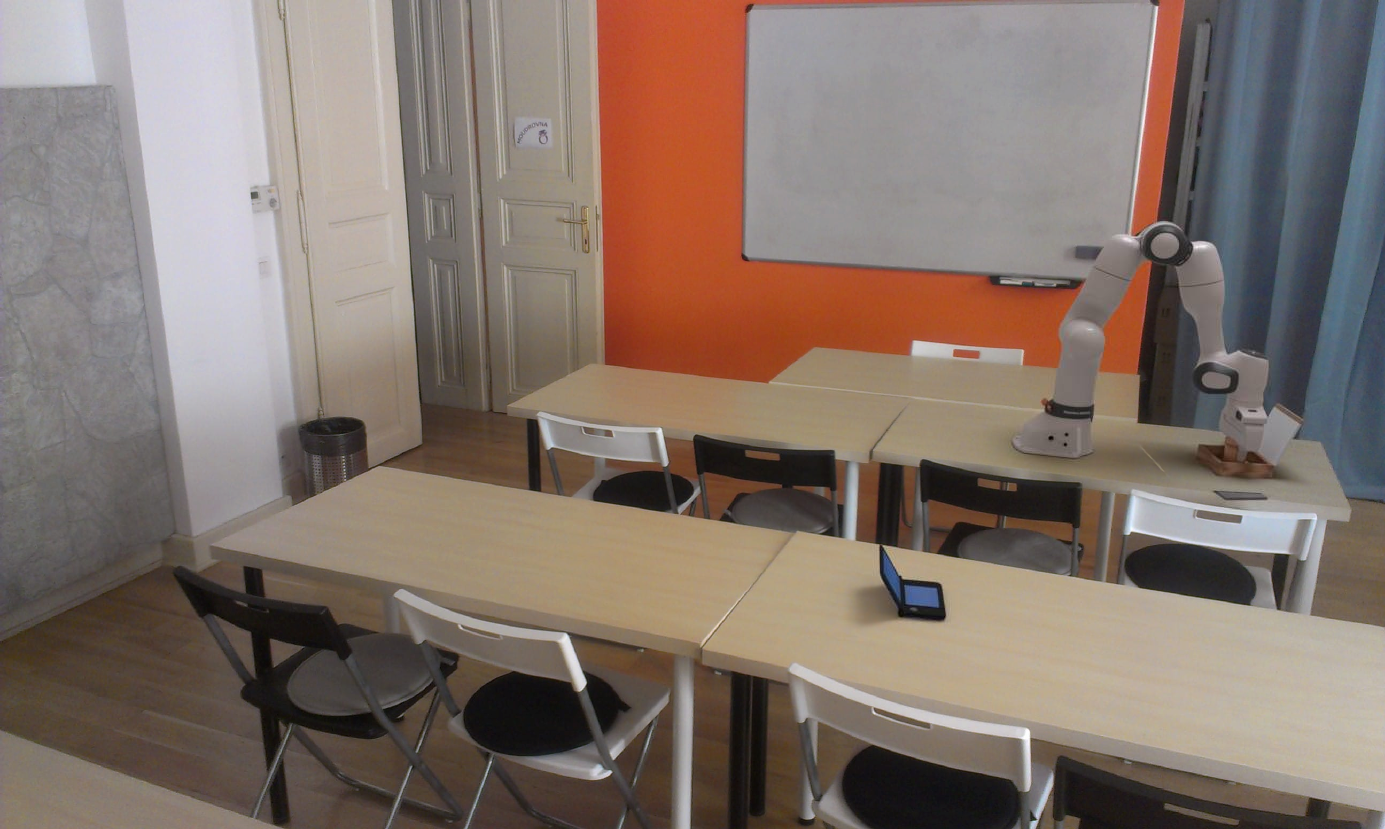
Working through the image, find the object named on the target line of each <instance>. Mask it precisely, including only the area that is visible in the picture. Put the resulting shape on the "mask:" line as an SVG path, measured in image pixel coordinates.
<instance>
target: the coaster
mask: <svg viewBox="0 0 1385 829" xmlns="http://www.w3.org/2000/svg"><path fill="white" fill-rule="evenodd" d="M1213 493H1214V494H1217V495H1218V496H1220V497H1221V498H1223V500H1225V501H1234V500H1235V501H1237V500H1238V501H1240V500H1241V501H1245V500H1246V501H1248V500H1249V501H1250V500H1251V501H1254V500H1261V501H1262V500H1266V501H1267V500H1268V499H1269V498H1268V496H1266V495H1265V494H1263V493H1261V492H1247V491H1246V492H1245V491H1227V490H1226V491H1223V490H1213Z"/></svg>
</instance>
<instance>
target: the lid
mask: <svg viewBox="0 0 1385 829" xmlns="http://www.w3.org/2000/svg"><path fill="white" fill-rule="evenodd" d="M1267 417H1268V420H1267V424H1263V425H1264V433H1263V438H1262V442H1261V446H1260V448H1259V450H1258V451H1257V452H1258V453H1259V454H1260V455H1261V456H1263V457H1264V458H1265V459H1266V460H1268V461H1269V462H1270V463H1271V464H1273V465H1274V467H1277V466H1278V464H1279V462H1280V460H1282V457H1283V455H1284V454H1285V452H1286V451H1287V449H1288V447H1289V446H1290V445H1291V443H1292V441H1293V439H1294V437H1295V436H1296V434H1297V433H1298V431H1299V429H1300V428H1301V426H1304V425H1305V423H1306V420H1304V419H1303V418H1302V417H1300V416H1298V415H1297V414H1296V413H1294V412H1292V411H1291V410H1289V409H1288V408H1286V407H1284V406H1283V405H1282V404H1281V403H1279V402H1278V403H1277V402H1276V403H1275V405H1274V407H1273V408H1272V409H1271V411H1270V413H1269V415H1267Z"/></svg>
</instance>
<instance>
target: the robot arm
mask: <svg viewBox="0 0 1385 829" xmlns="http://www.w3.org/2000/svg"><path fill="white" fill-rule="evenodd" d="M1147 261H1150V262H1152V263H1154V264H1156V265H1160V266H1171V267H1175V270H1176V273H1177V280H1178V289H1179V296H1180V299H1181V303H1182V305H1183V308H1184V310H1185V312H1187V313H1188V314H1189V315H1190V316H1191V317H1192V318H1193V319H1194V322H1195V324H1196V329H1197V336H1198V343H1199V348H1200V350H1199V351H1200V352H1199V356H1198V359H1197V362H1196V364H1195V367H1194V370H1193V372H1192V380H1191V381H1192V384H1193V386H1194V387H1195V388H1196V389H1197V391H1199V392H1201V393H1203V394H1206V395H1226V401H1225V406H1224V407H1223V408H1222V410H1221V414H1220V418H1219V421H1218V429H1219V431H1220V432H1221V433H1222V434H1223V435H1225V437H1227V436H1228V437H1229V438H1230V439H1231V440H1232V441H1234V442H1235V443H1236V444H1237V445H1238V446H1239V452H1238V454H1236V460H1237V461H1240V462H1243V461H1244V459H1245V455H1246V454H1247V452H1248V451H1251V452H1257V451H1258V450H1259V448H1260V446H1261V442H1262V438H1263V433H1264V425H1263V424H1267V420H1268V415H1267V412H1266V413H1265V411H1266V410H1265V408H1264V406H1263V405H1264V391H1265V390H1266V387H1267V385H1268V384H1267V383H1268V377H1269V367H1270V366H1269V363H1270V362H1269V358H1267V356H1266V355H1265V354H1263V353H1261V352H1259V351H1257V350H1254V349H1249V348H1240V349H1238V350H1236V351H1235V352H1231V353H1229V351H1228V349H1227V347H1226V344H1225V336H1224V329H1223V327H1224V326H1223V317H1222V316H1223V311H1224V309H1223V308H1224V305H1225V294H1226V292H1225V291H1226V288H1225V287H1226V286H1225V276H1224V271H1223V270H1224V269H1223V265H1222V262H1221V258H1220V255H1219V252H1218V249H1217V247H1216V246H1215V245H1214V243H1212V242H1209V241H1204V240H1197V241H1191V240H1190V239H1189V238H1188V237H1187V236H1186V234H1185V233H1184V231H1183V230H1182V228H1181V227H1180V226H1178V225H1177V224H1175V223H1174V222H1171V221H1168V220H1157V221H1154V222H1153V223H1150V224H1148V225H1147V226H1145V227H1144V228H1143V229H1142V230H1140V231H1139V232H1137V233H1136V234H1135V235H1130V234H1127V233H1117V234H1114V235H1112V236H1111V237H1110V238H1109V239H1108V240H1107V242H1106V243H1105V244H1104V245H1103V247H1102V249H1101V250H1100V252H1099V254H1098V255H1097V257H1096V259H1095V261H1094V263H1093V265H1092V267H1091V269H1090V270H1089V273H1088V275H1087V278H1086V280H1085V282H1084V283H1083V286H1082V287H1081V290H1080V291H1079V293H1078V295H1077V297H1076V298H1075V299H1074V301H1073V302H1072V304H1071V306H1070V308H1069V309H1068V311H1067V313H1066V314H1065V316H1064V317H1063V320H1062V321H1061V323H1060V324H1059V327H1058V339H1059V341H1060V342H1061V352H1060V357H1059V362H1058V364H1057V365H1058V366H1057V369H1056V372H1055V379H1054V388H1053V394H1052V395H1053V396H1052V399H1050V400H1048V398H1046V397H1045V398H1044V397H1043V398H1042V399H1041V401H1040V404H1041V405H1042V406H1043V407H1044V411H1042V412H1041V413H1039V414H1038V415H1036V416H1034V417H1032V418H1030V419H1028V420H1027V421H1026V422H1025V423H1023V427H1022V429H1021V431H1020V432H1021V433H1020V435H1015V436H1014V437H1012V441H1011V444H1012V445H1013V447H1014V448H1015V449H1016V450H1017V451H1019V452H1021V453H1025V454H1033V455H1043V456H1050V457H1060V458H1070V459H1077V458H1081V457H1082V456H1086V455H1090V454H1091V453H1093V451H1094V449H1093V448H1094V447H1093V443H1092V423H1093V420H1094V415H1095V403H1094V400H1095V392H1096V385H1097V378H1098V374H1099V370H1100V367H1101V363H1102V358H1103V354H1104V348H1105V346H1106V338H1105V334H1104V331H1103V330H1104V328H1105V326H1106V324H1107V323H1108V321H1109V319H1110V318H1111V317H1112V316H1113V314H1114V313H1115V311H1117V309H1118V308H1119V307H1120V305H1121V303H1122V301H1123V299H1124V297H1125V295H1126V293H1127V291H1128V289H1129V287H1130V285H1131V283H1132V281H1133V279H1134V277H1135V274H1136V273H1137V270H1138V269H1139V267H1141V265H1142V264H1143V263H1145V262H1147ZM1264 410H1265V411H1264Z"/></svg>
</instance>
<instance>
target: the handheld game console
mask: <svg viewBox="0 0 1385 829" xmlns="http://www.w3.org/2000/svg"><path fill="white" fill-rule="evenodd" d="M878 552H879V554H878V558H879V560H878V561H879V562H878V563H879V576H880V578H881V580H882V582H883V584H884V585H885V587H886V589H887V591H888V593H889V595H890V597H891V598H892V600H893V602H894V603H895V605H896V606H897V616H898V617H899V618H911V619H912V618H913V619H919V620H920V619H921V620H931V621H932V620H933V621H943V620H945V619H946V618H947V611H946V605H945V597H944V591H943V590H944V589H943V584H941V583H940V582H938V581H929V580H918V579H905V578H903V576H902V575H901V574H900V575H899V572H898V571H897V568H896V567H895V565H894V564H893V562H892V560H891V558H890V556H889V554H888V552H887V551H886V549H885V548H884V545H882V544H879V547H878Z"/></svg>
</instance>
